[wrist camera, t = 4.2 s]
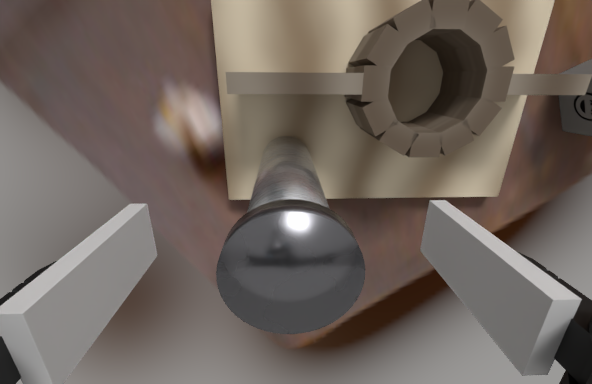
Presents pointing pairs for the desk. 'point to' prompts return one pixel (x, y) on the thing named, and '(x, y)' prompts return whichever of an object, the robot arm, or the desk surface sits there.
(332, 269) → the pin
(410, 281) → the desk surface
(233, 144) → the hinge board
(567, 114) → the dice cube
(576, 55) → the desk surface
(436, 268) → the robot arm
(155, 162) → the desk surface
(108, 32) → the desk surface
